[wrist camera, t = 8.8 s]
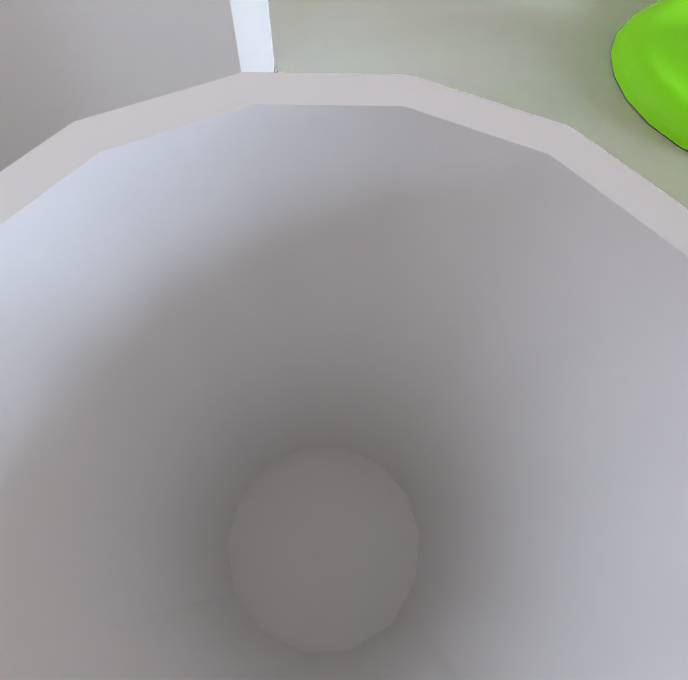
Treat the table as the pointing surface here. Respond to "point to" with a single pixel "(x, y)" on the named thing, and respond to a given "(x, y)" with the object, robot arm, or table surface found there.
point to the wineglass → (656, 66)
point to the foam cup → (340, 393)
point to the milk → (115, 57)
